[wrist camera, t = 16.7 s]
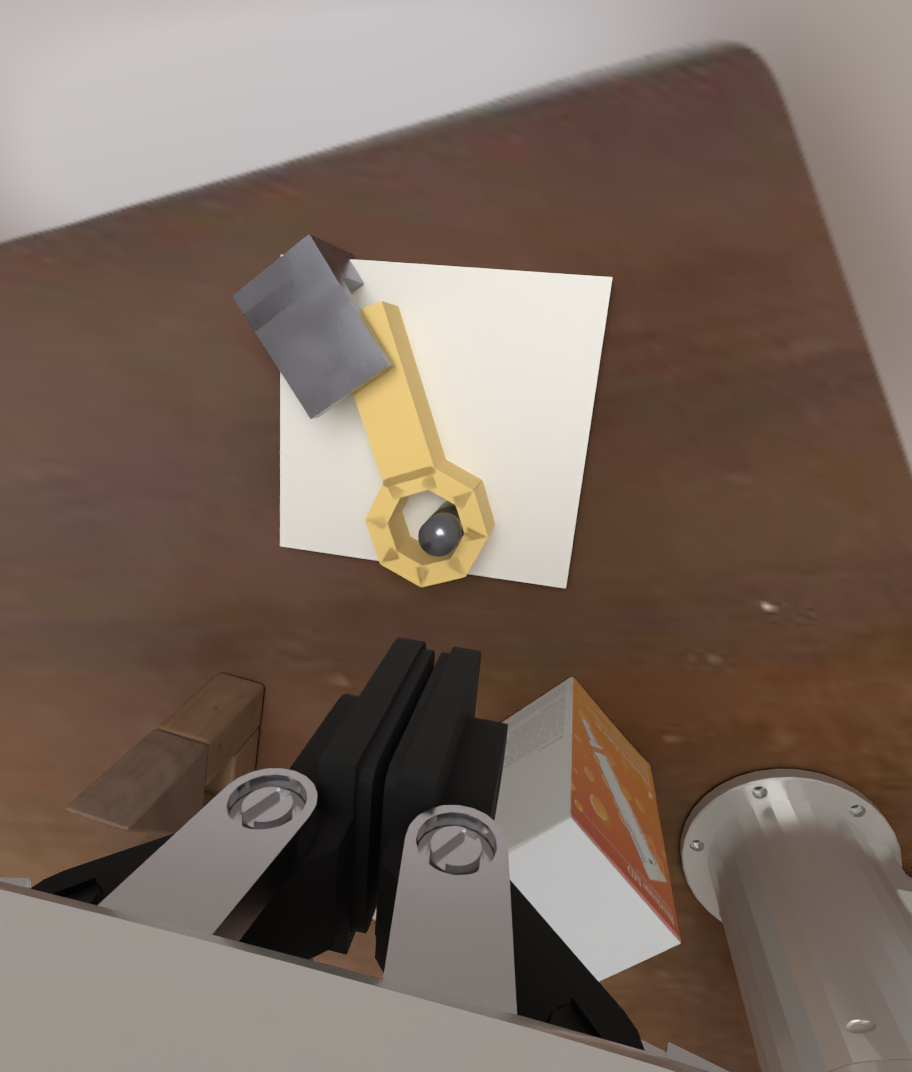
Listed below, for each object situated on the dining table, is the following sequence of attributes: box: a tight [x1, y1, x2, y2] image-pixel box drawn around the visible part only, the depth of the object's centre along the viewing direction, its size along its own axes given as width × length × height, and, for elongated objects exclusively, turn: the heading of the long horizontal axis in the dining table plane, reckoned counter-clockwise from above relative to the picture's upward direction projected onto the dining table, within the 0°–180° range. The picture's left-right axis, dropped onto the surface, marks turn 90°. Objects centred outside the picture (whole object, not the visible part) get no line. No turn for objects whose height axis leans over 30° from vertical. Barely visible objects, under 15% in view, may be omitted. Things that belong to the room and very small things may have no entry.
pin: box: [418, 501, 464, 557], centre depth 34 cm, size 2×2×6 cm
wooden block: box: [65, 673, 264, 845], centre depth 37 cm, size 4×11×18 cm, turn 169°
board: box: [280, 255, 612, 589], centre depth 35 cm, size 18×17×1 cm
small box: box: [494, 677, 681, 982], centre depth 34 cm, size 8×6×13 cm
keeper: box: [232, 234, 395, 419], centre depth 33 cm, size 7×5×6 cm
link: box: [353, 301, 495, 587], centre depth 34 cm, size 15×6×3 cm, turn 18°
